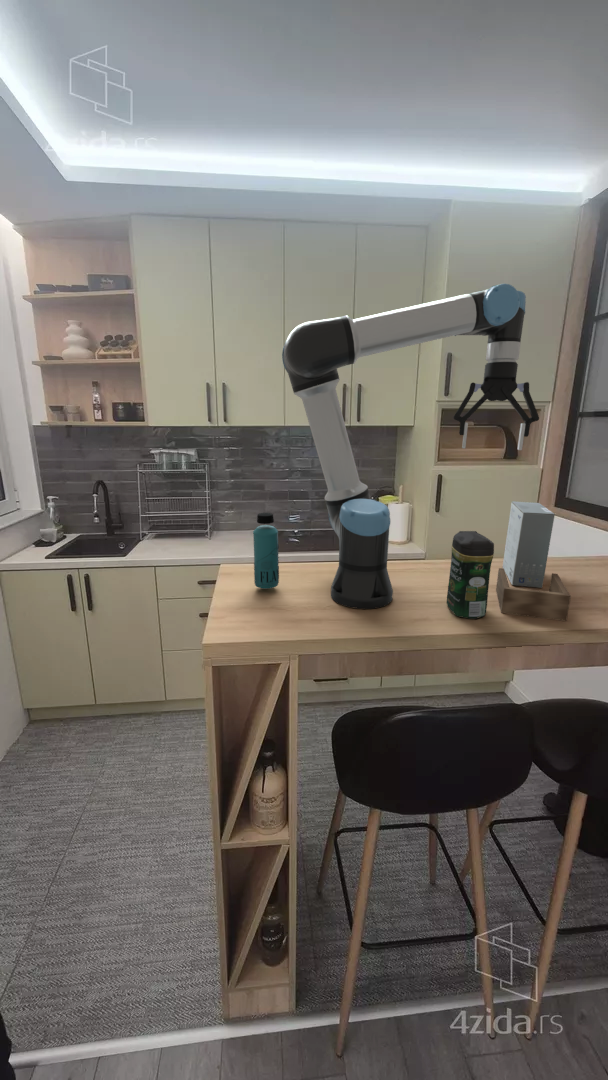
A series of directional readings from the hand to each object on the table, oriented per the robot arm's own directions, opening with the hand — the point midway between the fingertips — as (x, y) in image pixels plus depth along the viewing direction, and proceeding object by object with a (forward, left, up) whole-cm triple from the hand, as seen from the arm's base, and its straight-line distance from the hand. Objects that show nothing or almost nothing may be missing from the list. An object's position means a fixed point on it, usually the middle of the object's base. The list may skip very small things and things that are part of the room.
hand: (491, 449), depth 120 cm
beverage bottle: (-52, -29, -35) cm, 69 cm away
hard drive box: (+12, +1, -35) cm, 37 cm away
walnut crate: (+11, -18, -35) cm, 41 cm away
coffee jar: (-4, -27, -35) cm, 44 cm away
